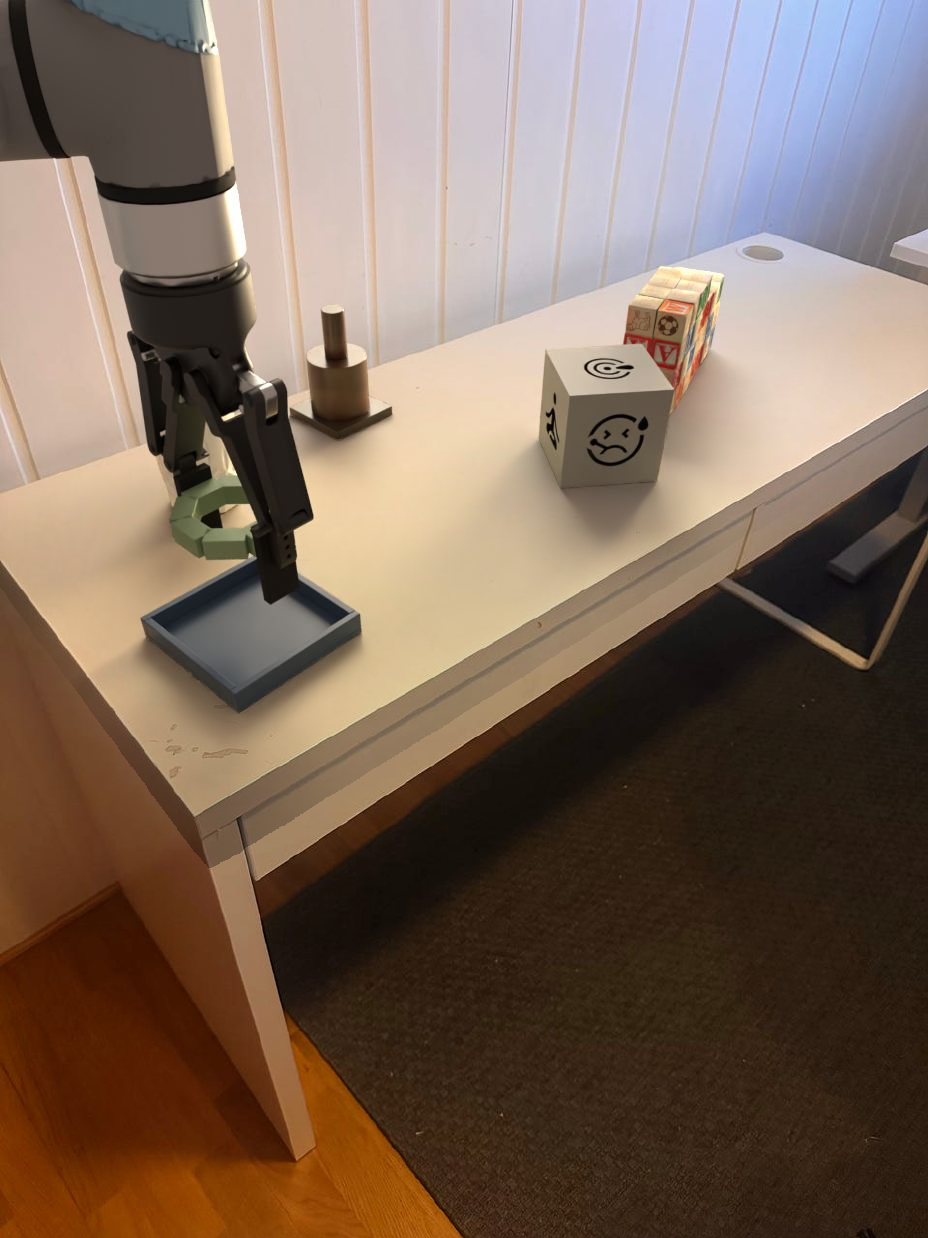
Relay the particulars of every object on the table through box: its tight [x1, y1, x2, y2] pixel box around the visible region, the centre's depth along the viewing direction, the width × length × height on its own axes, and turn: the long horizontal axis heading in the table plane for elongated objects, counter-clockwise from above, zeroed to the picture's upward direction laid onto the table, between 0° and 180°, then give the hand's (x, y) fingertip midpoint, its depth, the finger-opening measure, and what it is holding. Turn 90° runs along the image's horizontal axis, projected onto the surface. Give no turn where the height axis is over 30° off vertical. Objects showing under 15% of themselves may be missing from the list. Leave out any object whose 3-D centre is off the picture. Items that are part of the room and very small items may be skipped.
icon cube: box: [538, 344, 674, 489], centre depth 90 cm, size 10×10×10 cm
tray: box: [140, 555, 363, 714], centre depth 71 cm, size 12×12×2 cm
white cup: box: [141, 410, 238, 514], centre depth 83 cm, size 8×8×10 cm
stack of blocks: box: [622, 265, 726, 417], centre depth 103 cm, size 21×6×12 cm, turn 155°
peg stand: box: [288, 303, 393, 441], centre depth 95 cm, size 8×8×12 cm
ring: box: [168, 475, 257, 561], centre depth 64 cm, size 8×8×2 cm
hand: (243, 567), depth 67 cm, fingers closed on ring, 8 cm apart
